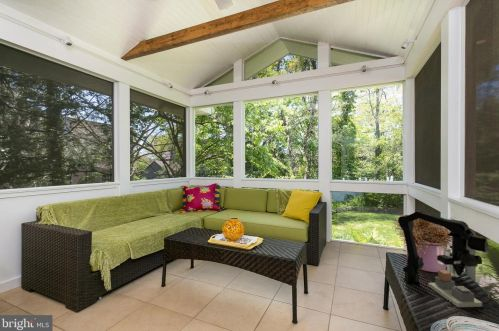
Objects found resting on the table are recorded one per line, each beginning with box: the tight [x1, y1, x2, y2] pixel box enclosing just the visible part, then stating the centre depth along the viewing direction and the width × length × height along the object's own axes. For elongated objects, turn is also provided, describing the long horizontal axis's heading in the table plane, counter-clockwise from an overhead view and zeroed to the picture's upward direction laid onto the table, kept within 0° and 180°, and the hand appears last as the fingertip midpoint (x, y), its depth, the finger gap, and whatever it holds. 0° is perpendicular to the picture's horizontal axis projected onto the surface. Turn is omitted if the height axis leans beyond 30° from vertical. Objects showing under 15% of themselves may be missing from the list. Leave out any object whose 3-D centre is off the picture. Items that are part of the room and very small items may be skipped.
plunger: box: [455, 285, 471, 293], centre depth 120 cm, size 4×4×5 cm
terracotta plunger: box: [437, 269, 452, 282], centre depth 130 cm, size 4×4×5 cm
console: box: [427, 276, 483, 308], centre depth 125 cm, size 12×19×6 cm, turn 0°
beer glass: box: [445, 249, 460, 278], centre depth 146 cm, size 7×7×15 cm
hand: (458, 275), depth 121 cm, fingers closed
